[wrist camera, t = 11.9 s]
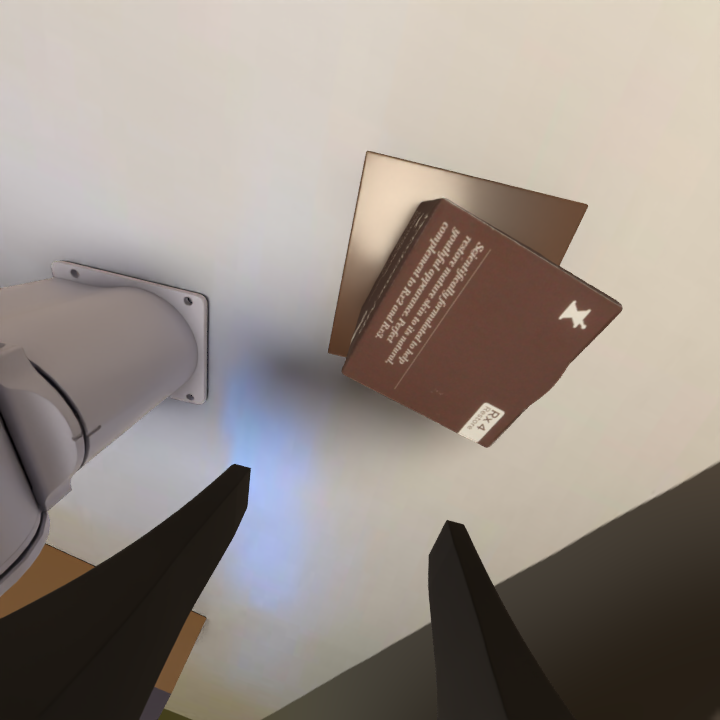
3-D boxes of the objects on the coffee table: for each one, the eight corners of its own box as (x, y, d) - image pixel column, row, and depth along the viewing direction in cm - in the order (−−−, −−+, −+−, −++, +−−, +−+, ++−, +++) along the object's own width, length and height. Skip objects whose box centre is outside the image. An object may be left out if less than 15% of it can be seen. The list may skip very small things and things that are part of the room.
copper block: (333, 340, 20) (327, 353, 18) (369, 156, 16) (366, 150, 14) (488, 378, 20) (497, 395, 18) (567, 205, 16) (589, 204, 14)
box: (422, 197, 14) (444, 186, 8) (530, 264, 15) (635, 306, 9) (358, 310, 17) (334, 375, 10) (454, 363, 18) (488, 455, 11)
